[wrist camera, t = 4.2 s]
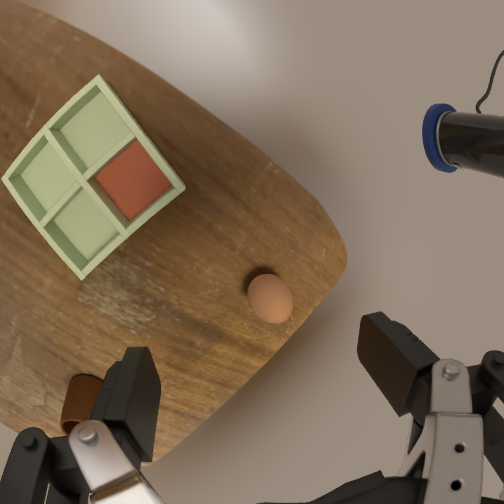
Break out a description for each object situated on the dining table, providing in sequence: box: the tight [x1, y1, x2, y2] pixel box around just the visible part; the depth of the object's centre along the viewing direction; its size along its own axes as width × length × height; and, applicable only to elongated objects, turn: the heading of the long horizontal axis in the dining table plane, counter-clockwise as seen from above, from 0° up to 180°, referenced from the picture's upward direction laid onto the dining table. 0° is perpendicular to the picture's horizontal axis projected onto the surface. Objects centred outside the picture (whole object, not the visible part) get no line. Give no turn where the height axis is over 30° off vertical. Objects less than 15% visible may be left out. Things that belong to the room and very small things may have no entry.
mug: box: [60, 375, 103, 436], centre depth 33 cm, size 12×8×9 cm, turn 24°
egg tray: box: [2, 75, 186, 280], centre depth 25 cm, size 15×15×4 cm
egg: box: [247, 274, 293, 324], centre depth 33 cm, size 5×5×8 cm
